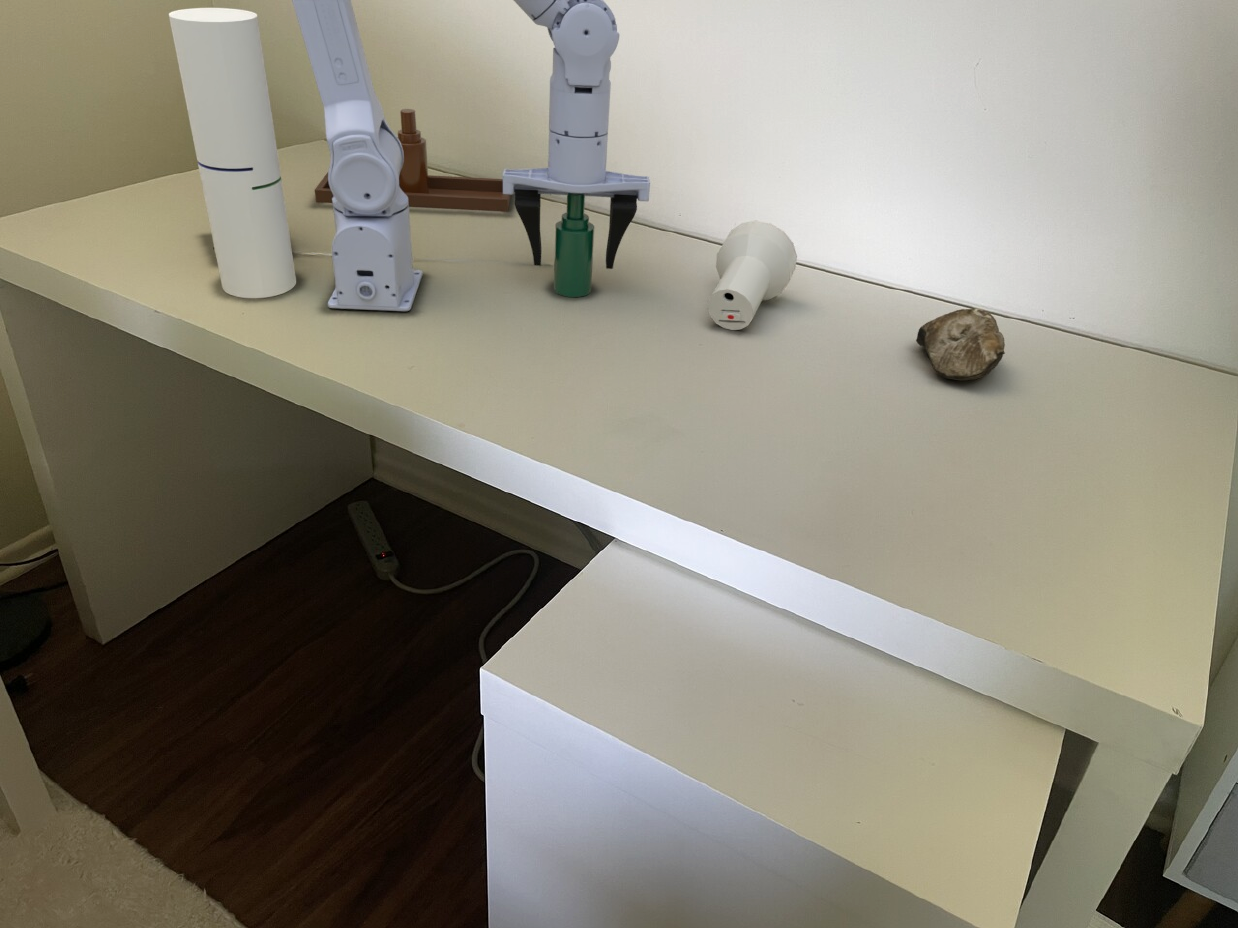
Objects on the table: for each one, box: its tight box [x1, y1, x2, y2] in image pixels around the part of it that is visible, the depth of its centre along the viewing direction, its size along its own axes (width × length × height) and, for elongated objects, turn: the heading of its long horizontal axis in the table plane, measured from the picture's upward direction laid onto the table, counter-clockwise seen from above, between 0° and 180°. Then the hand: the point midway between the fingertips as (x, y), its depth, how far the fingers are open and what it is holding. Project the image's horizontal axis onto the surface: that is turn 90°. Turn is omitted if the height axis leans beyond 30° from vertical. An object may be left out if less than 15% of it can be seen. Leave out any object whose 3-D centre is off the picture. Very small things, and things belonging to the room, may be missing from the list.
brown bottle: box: [397, 108, 429, 194], centre depth 114 cm, size 4×4×10 cm
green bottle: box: [553, 193, 595, 298], centre depth 94 cm, size 4×4×10 cm
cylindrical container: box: [168, 7, 297, 299], centre depth 86 cm, size 7×7×25 cm
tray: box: [314, 172, 512, 213], centre depth 117 cm, size 8×24×2 cm, turn 92°
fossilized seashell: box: [915, 308, 1006, 382], centre depth 87 cm, size 8×7×10 cm
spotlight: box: [706, 220, 798, 331], centre depth 93 cm, size 8×11×8 cm
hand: (573, 263), depth 95 cm, fingers open, 7 cm apart
